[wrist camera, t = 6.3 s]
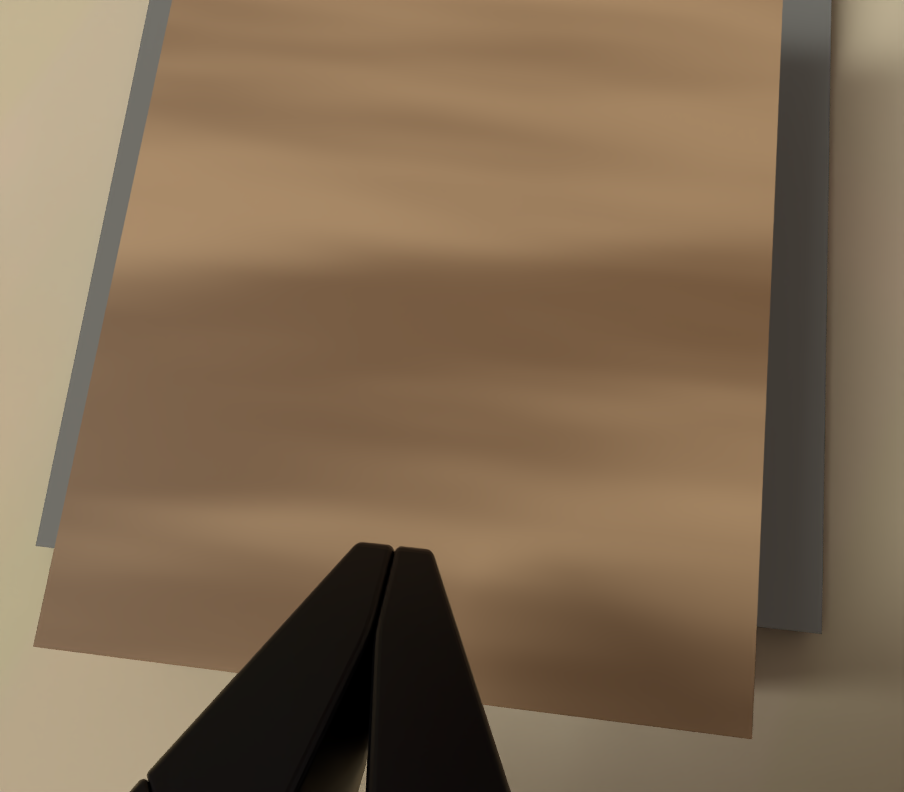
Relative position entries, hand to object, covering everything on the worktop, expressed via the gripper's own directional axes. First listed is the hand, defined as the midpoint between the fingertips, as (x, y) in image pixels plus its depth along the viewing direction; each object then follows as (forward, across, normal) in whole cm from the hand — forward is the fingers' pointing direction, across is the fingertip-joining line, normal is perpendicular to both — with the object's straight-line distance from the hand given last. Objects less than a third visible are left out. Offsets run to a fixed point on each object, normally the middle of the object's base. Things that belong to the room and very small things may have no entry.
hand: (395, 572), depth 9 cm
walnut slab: (+2, 0, +4) cm, 5 cm away
